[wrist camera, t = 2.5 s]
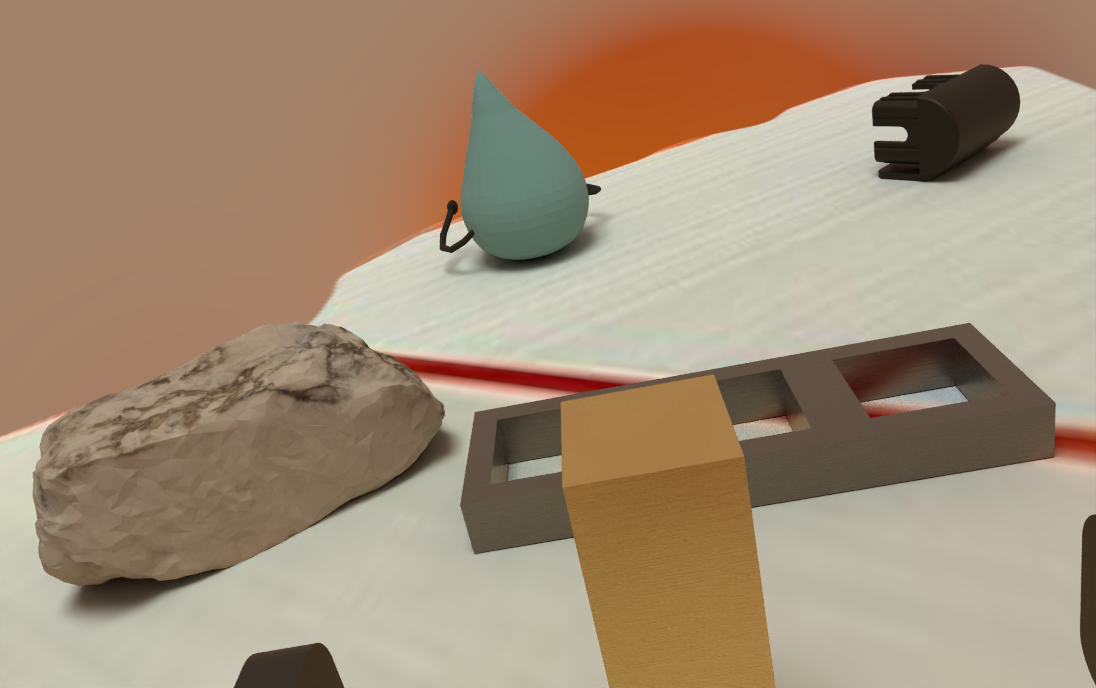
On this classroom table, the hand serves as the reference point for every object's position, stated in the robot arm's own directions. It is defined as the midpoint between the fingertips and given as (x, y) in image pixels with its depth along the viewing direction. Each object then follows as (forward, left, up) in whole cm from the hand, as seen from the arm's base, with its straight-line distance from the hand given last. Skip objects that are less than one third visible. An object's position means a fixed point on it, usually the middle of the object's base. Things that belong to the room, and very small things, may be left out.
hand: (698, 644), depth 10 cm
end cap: (-13, +69, -16) cm, 72 cm away
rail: (-12, +25, -16) cm, 32 cm away
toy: (-40, +49, -16) cm, 66 cm away
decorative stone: (-35, +15, -16) cm, 42 cm away
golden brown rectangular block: (-6, +9, -16) cm, 20 cm away
